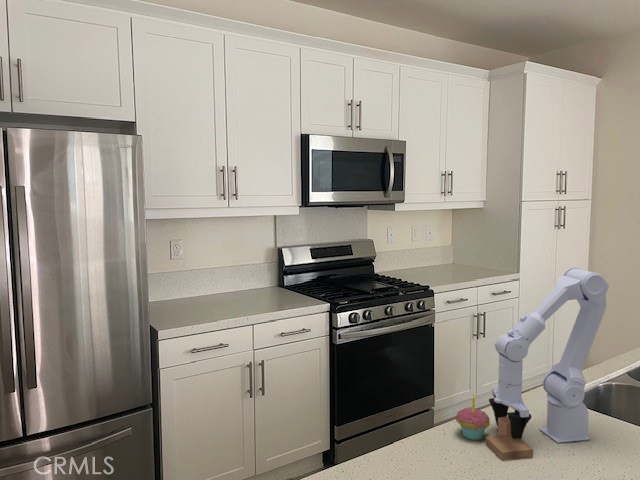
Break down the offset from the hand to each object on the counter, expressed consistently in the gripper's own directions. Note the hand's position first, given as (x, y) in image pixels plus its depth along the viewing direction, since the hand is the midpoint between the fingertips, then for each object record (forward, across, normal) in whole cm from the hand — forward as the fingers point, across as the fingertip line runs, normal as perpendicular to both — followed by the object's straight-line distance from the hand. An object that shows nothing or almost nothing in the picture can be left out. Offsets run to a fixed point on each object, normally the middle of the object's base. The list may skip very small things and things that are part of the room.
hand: (508, 432), depth 133 cm
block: (+2, 0, 0) cm, 2 cm away
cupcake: (+2, -3, -8) cm, 9 cm away
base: (+2, +6, -3) cm, 7 cm away
